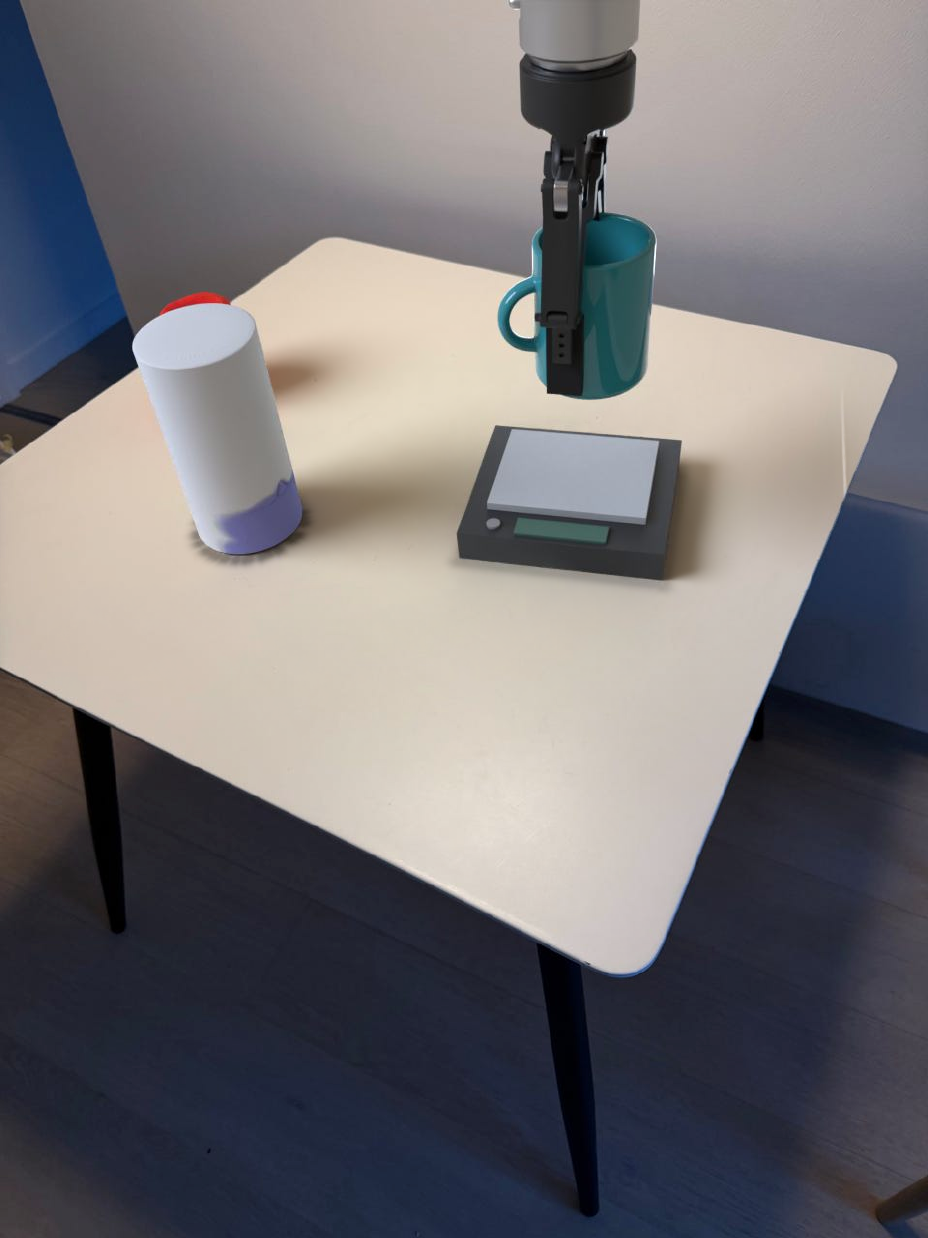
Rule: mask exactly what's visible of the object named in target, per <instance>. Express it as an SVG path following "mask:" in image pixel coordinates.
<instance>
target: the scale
mask: <svg viewBox="0 0 928 1238" xmlns="http://www.w3.org/2000/svg"><path fill="white" fill-rule="evenodd" d="M682 443H683V440H681V439H673V438H672V439H671V438H660V437H659V438H658V437H645V436H636V435H635V436H634V435H623V434H611V433H598V432H597V433H596V432H583V431H571V430H561V429H547V428H534V427H523V426H522V427H521V426H511V425H500V424H499V425H497V424H496V425H494V428H493V431H492V434H491V436H490V439H489V441H488V445H487V447H486V450H485V453H484V455H483V459H482V461H481V463H480V467H479V470H478V473H477V475H476V478H475V481H474V483H473V487H472V489H471V492H470V495H469V498H468V500H467V503H466V506H465V508H464V512H463V514H462V518H461V520H460V522H459V525H458V528H457V530H456V531H457V532H456V540H457V549H458V557H459V559H466V560H477V561H482V562H483V561H484V562H494V563H502V564H510V565H511V564H512V565H520V566H529V567H539V568H549V569H555V570H556V569H558V570H565V571H566V570H567V571H574V572H575V571H576V572H583V573H592V574H601V575H611V576H619V577H629V578H639V579H647V580H655V581H663V580H664V574H665V573H664V572H665V566H666V559H667V552H668V545H669V539H670V532H671V524H672V519H673V511H674V504H675V496H676V490H677V482H678V476H679V470H680V461H681V452H682Z"/></svg>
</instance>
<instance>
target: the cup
mask: <svg viewBox="0 0 928 1238" xmlns="http://www.w3.org/2000/svg"><path fill="white" fill-rule="evenodd" d="M542 235H543V226H542V227H540V228H539V229H538V230H537V231H536V232H535V234H534V236H533V238H532V240H531V276H529V277H526V278H525V279H523V280H520V281H518V282H517V283H515V284H514V285H512V287H510V288H509V289H508V290H507V292H506V293H505V294H504V295H503V297H502V299H501V301H500V303H499V306H498V308H497V313H496V322H497V327H498V330H499V333H500V335H501V336H502V338H503V340H504V341H505V342H506V344H508V345H510V347H513V348H514V349H516V350H519V351H521V352H527V353H534V369H535V373H536V376H537V378H538V380H539V381H540V382H541V383H542V385H544V386H545V388H547V378H546V328H544V327H541V326H540V322H535V317H534V316H535V313H541V275H542ZM656 253H657V236H656V233H655V230H654V229H652V227H651V226H650V225H648V224H647V223H646V222H644V221H642V220H640V219H638V218H636V217H633V216H631V215H626V214H623V213H622V214H621V213H617V212H607V211H606V212H600V221H594V220H592V221H590V222H589V223H588V226H587V239H586V252H585V265H584V266H583V291H582V304H581V312H582V315H584V351H583V392H582V396H570V395H561V396H562V397H566V398H569V399H574V400H582V401H584V400H585V401H598V400H605V399H610V398H615V397H617V396H621V395H623V394H625V393H627V392H629V391H631V390H632V389H634V388H635V387H637V386H638V385H639V384H640V383H641V381H642V380H643V379H644V377H645V376H646V373H647V370H648V367H649V366H648V365H649V354H650V342H651V341H650V340H651V326H652V312H653V297H654V284H655V283H654V282H655V270H656V269H655V267H656V256H657V255H656ZM531 294H532V301H533V304H532V305H533V335H532V336H523V335H520V334H518V333H517V332H516V331H514V329H513V328H512V325H511V314H512V312H513V310H514V308H515V306H516V305H517V304H518V303H519V302H520V301H521V300H522V299H523V298H525V297H527V296H529V295H531Z"/></svg>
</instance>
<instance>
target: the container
mask: <svg viewBox="0 0 928 1238" xmlns="http://www.w3.org/2000/svg"><path fill="white" fill-rule="evenodd" d="M131 346H132V347H131V348H132V352H133V355H134V357H135V360H136V364H137V366H138V369H139V371H140V374H141V378H142V380H143V384H144V385H145V388H146V391H147V394H148V397H149V399H150V402H151V406H152V409H153V410H154V411H153V412H154V413H155V416H156V419H157V422H158V424H159V427H160V430H161V433H162V436H163V438H164V441H165V444H166V447H167V449H168V453H169V455H170V458H171V461H172V464H173V466H174V469H175V472H176V475H177V477H178V481H179V484H180V486H181V489H182V491H183V494H184V497H185V500H186V503H187V505H188V508H189V511H190V513H191V516H192V519H193V522H194V524H195V528H196V530H197V533H198V535H199V538H200V540H201V541H202V542H203V543H204V544H205V545H206V546H207V547H208V548H210V549H212V550H214V551H217V552H220V553H224V554H229V555H247V554H253V553H259V552H262V551H264V550H268V549H270V548H273V547H274V546H276V545H278V544H280V543H282V542H283V541H285V540H286V539H287V538H288V537H290V536H291V535H292V534H293V533H294V532H295V530H296V529H298V527H299V525H300V523H301V520H302V518H303V506H302V501H301V498H300V494H299V490H298V486H297V483H296V482H297V481H296V478H295V474H294V470H293V465H292V462H291V457H290V454H289V449H288V446H287V442H286V438H285V433H284V431H283V426H282V422H281V418H280V414H279V411H278V410H279V409H278V407H277V406H278V405H277V403H276V398H275V395H274V390H273V386H272V382H271V378H270V373H269V371H268V366H267V362H266V359H265V355H264V351H263V347H262V342H261V338H260V335H259V331H258V326H257V323H256V320H255V318H254V316H252V314H251V313H249V311H247V310H245V309H243V308H242V307H239V306H235V305H232V304H231V305H228V304H219V303H206V304H197V305H191V306H186V307H182V308H178V309H175V310H172V311H170V312H167V313H165V314H163V315H161V316H156V317H155V318H153V319H151V320H150V321H148V323H146V324H145V325H143V326H142V327H141V329H140V330H139V331H138V332H137V334H136V335H135V336H134V338H133V341H132V345H131Z"/></svg>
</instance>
